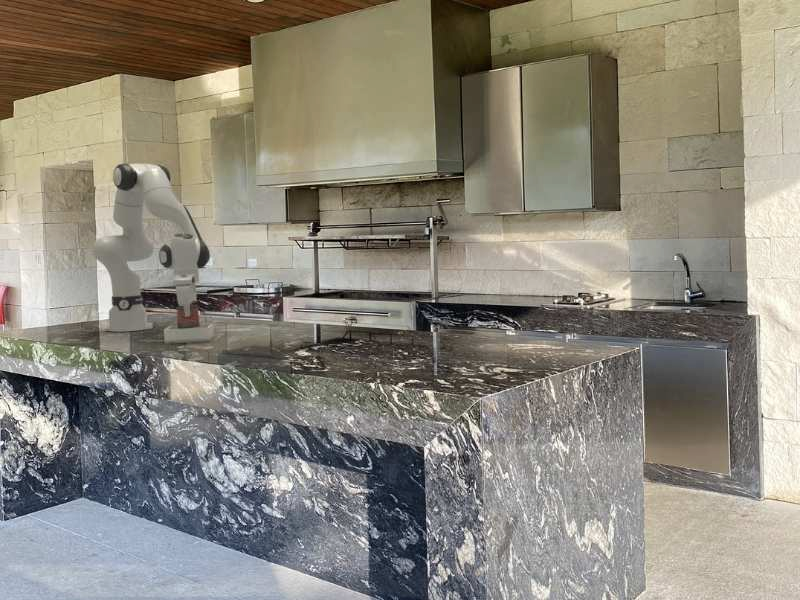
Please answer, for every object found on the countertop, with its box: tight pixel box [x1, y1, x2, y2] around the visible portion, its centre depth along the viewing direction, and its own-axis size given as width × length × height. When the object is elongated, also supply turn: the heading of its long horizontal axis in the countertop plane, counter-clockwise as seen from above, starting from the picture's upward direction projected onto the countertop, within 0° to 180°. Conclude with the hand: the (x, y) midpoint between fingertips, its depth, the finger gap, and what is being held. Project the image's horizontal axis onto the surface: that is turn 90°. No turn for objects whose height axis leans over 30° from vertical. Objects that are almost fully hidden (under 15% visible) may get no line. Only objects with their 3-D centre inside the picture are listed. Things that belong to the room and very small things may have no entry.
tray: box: [163, 323, 215, 345], centre depth 312 cm, size 12×16×5 cm
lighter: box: [176, 300, 200, 329], centre depth 311 cm, size 8×3×10 cm, turn 90°
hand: (188, 316), depth 312 cm, fingers closed on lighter, 2 cm apart
